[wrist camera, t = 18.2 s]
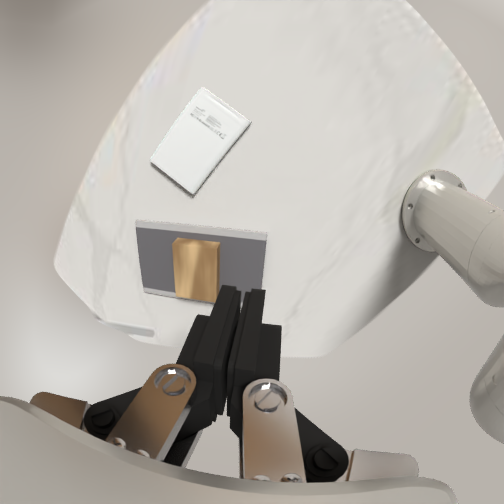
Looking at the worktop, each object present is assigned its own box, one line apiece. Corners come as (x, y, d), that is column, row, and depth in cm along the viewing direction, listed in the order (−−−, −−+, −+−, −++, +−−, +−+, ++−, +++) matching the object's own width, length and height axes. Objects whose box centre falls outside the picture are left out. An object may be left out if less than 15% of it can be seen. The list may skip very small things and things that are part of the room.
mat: (267, 232, 38) (266, 233, 37) (259, 307, 44) (258, 309, 43) (137, 219, 39) (135, 220, 39) (145, 290, 45) (144, 291, 44)
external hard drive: (153, 158, 36) (204, 87, 31) (196, 192, 37) (252, 122, 32) (148, 160, 34) (200, 85, 29) (192, 195, 36) (251, 121, 31)
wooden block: (177, 237, 39) (220, 242, 39) (180, 288, 43) (219, 294, 43) (172, 243, 37) (216, 248, 37) (175, 296, 41) (216, 302, 41)
